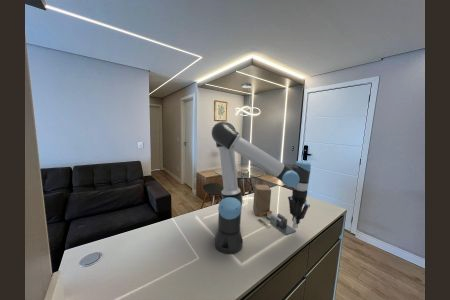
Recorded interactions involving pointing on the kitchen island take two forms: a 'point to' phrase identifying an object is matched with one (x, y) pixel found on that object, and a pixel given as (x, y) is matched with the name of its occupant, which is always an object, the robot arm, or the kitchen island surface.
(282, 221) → the gauge slider with pointer
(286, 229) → the gauge housing
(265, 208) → the wooden block
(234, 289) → the kitchen island surface
